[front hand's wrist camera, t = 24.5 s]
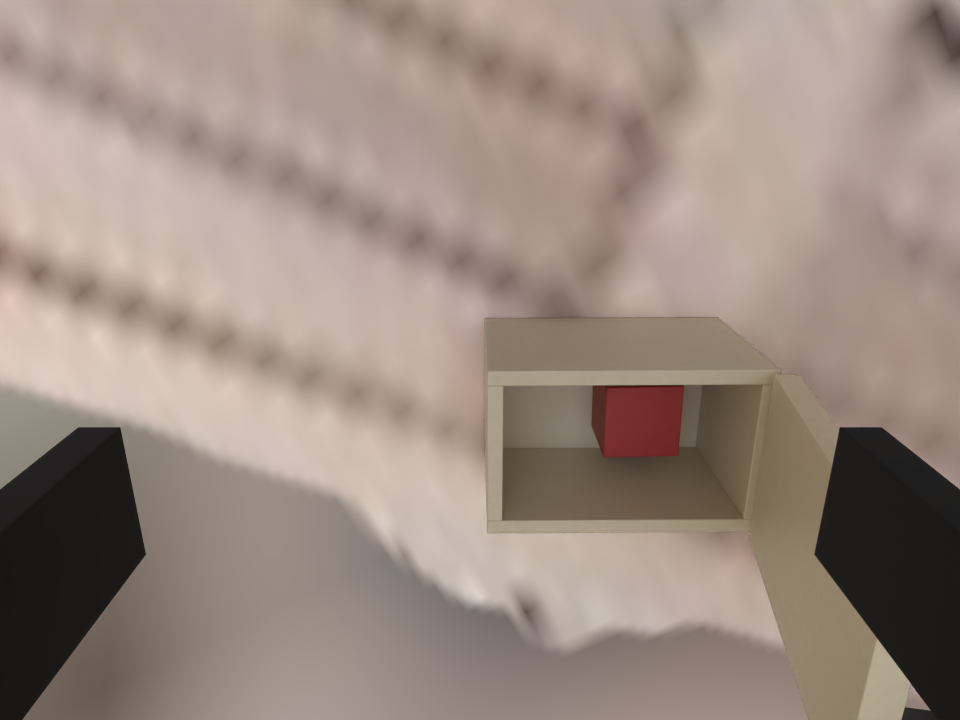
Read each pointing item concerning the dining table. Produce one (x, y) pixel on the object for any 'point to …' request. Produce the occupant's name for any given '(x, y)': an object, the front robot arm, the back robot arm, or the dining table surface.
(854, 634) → the lid
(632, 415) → the block
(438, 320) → the dining table surface
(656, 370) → the chest
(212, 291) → the dining table surface
